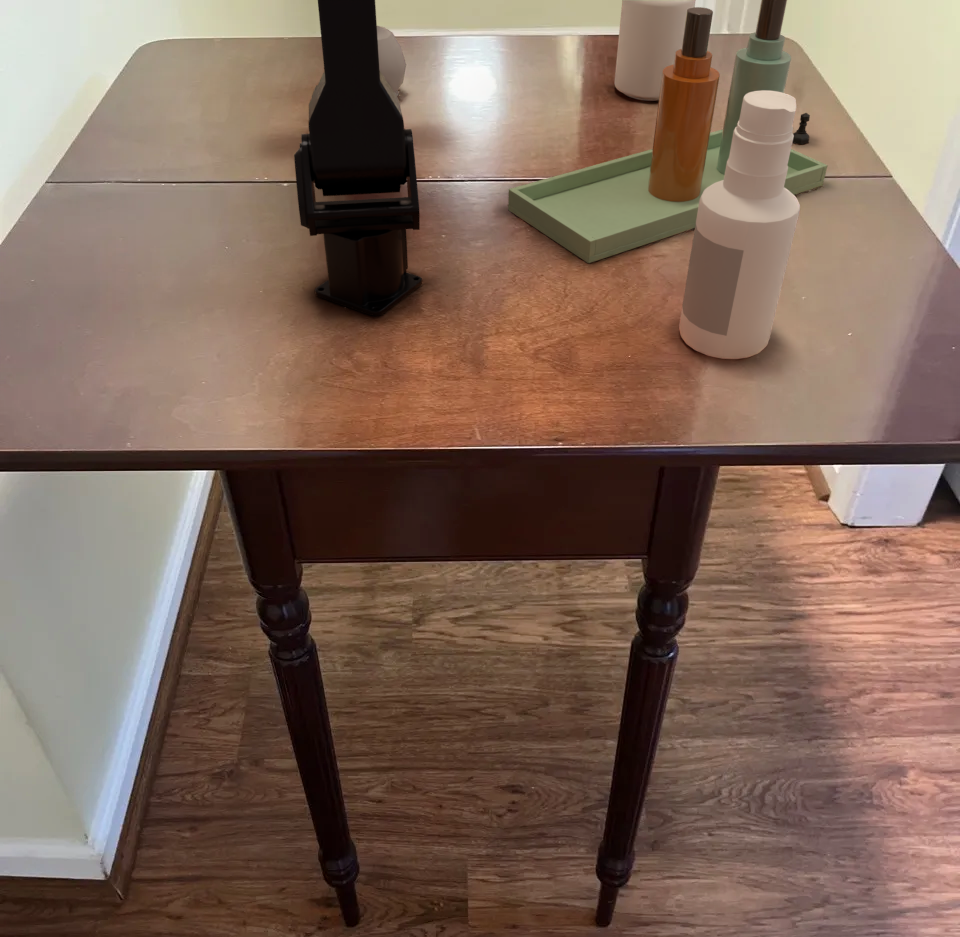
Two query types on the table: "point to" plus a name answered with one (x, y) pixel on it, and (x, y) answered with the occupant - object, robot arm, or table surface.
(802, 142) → the chess pawn
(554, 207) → the tray
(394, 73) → the potion bottle
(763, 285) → the spray bottle
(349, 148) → the robot arm
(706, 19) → the amber bottle
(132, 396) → the table surface
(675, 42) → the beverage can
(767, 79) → the celadon bottle
